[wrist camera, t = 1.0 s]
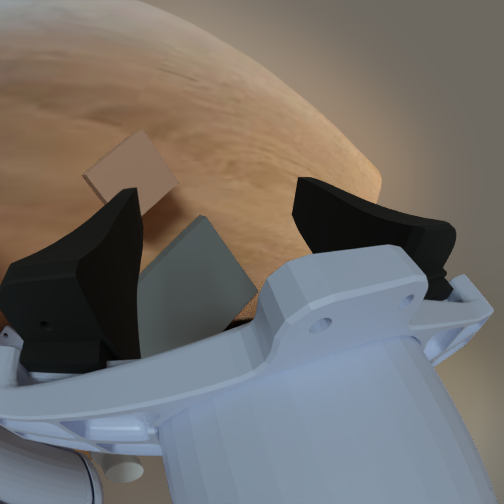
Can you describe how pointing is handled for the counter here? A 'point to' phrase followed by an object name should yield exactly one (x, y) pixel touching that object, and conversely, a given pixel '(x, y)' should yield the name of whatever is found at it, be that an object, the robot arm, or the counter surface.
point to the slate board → (190, 290)
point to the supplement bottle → (118, 466)
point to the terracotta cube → (132, 172)
